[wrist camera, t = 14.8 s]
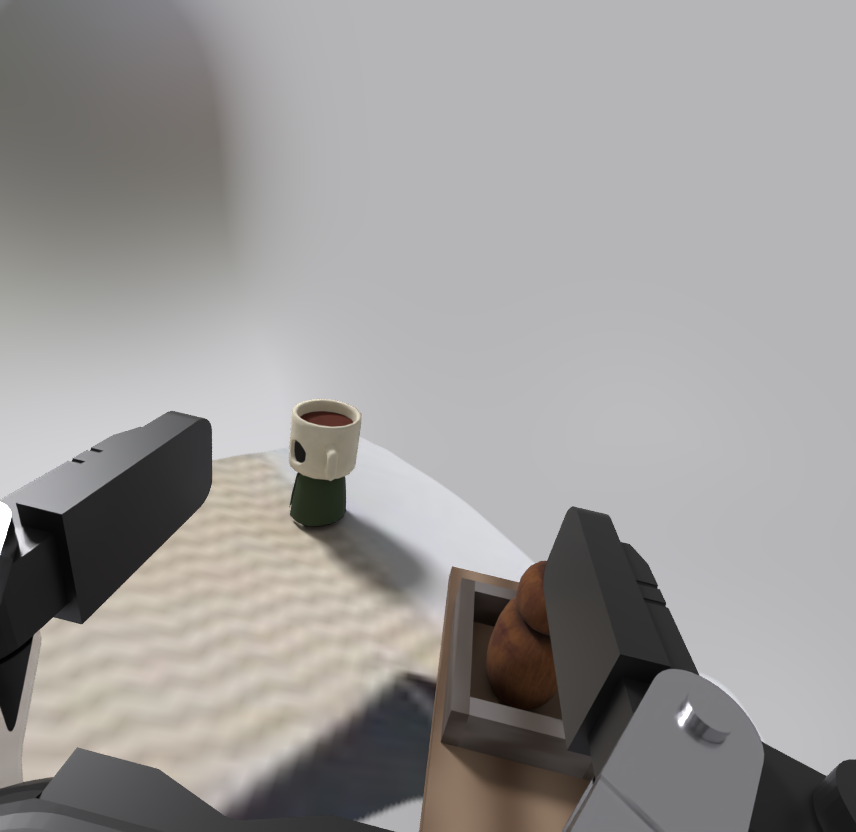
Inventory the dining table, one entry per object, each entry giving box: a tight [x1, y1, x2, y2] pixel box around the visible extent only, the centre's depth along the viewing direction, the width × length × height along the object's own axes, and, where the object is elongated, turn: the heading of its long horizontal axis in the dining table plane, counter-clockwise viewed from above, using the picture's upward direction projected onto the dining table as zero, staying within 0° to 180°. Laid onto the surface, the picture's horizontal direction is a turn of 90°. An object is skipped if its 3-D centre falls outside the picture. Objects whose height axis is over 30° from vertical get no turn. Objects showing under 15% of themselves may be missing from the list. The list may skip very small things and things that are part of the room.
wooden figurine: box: [486, 561, 558, 711], centre depth 32 cm, size 7×6×15 cm
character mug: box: [289, 399, 361, 526], centre depth 49 cm, size 11×7×13 cm, turn 19°
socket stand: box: [419, 567, 594, 832], centre depth 35 cm, size 12×22×5 cm, turn 172°
